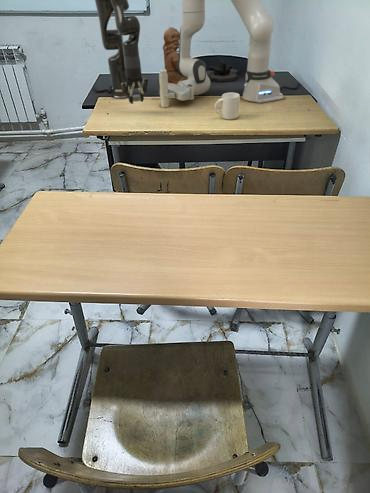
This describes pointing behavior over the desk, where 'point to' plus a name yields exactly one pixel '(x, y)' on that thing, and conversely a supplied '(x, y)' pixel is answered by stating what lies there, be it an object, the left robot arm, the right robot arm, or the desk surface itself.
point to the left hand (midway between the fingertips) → (136, 102)
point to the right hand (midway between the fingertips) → (162, 94)
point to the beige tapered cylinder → (163, 88)
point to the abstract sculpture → (222, 72)
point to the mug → (229, 105)
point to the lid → (136, 97)
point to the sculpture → (172, 55)
